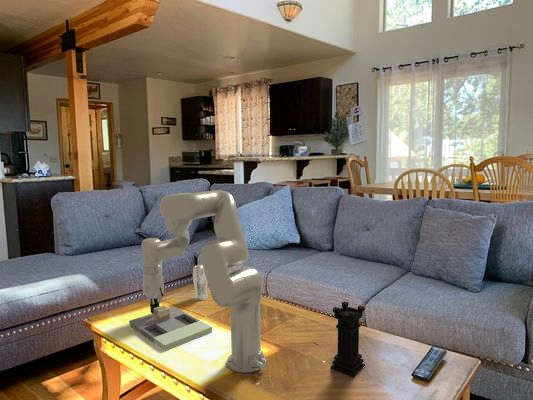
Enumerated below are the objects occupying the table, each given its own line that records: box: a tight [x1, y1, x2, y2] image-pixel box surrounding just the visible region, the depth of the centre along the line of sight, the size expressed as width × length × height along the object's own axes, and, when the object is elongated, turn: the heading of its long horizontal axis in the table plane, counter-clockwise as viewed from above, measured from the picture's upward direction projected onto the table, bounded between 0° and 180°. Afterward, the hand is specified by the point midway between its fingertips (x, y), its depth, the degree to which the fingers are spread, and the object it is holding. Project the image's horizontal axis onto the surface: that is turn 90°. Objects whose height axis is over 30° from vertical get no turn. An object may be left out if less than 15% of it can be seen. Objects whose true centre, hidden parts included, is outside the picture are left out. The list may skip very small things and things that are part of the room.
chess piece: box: [330, 301, 366, 378], centre depth 128 cm, size 8×8×20 cm
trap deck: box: [128, 306, 213, 351], centre depth 158 cm, size 28×20×2 cm
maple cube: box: [153, 305, 170, 323], centre depth 162 cm, size 4×4×4 cm
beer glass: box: [192, 264, 209, 301], centre depth 189 cm, size 7×7×15 cm
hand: (155, 312), depth 166 cm, fingers closed
